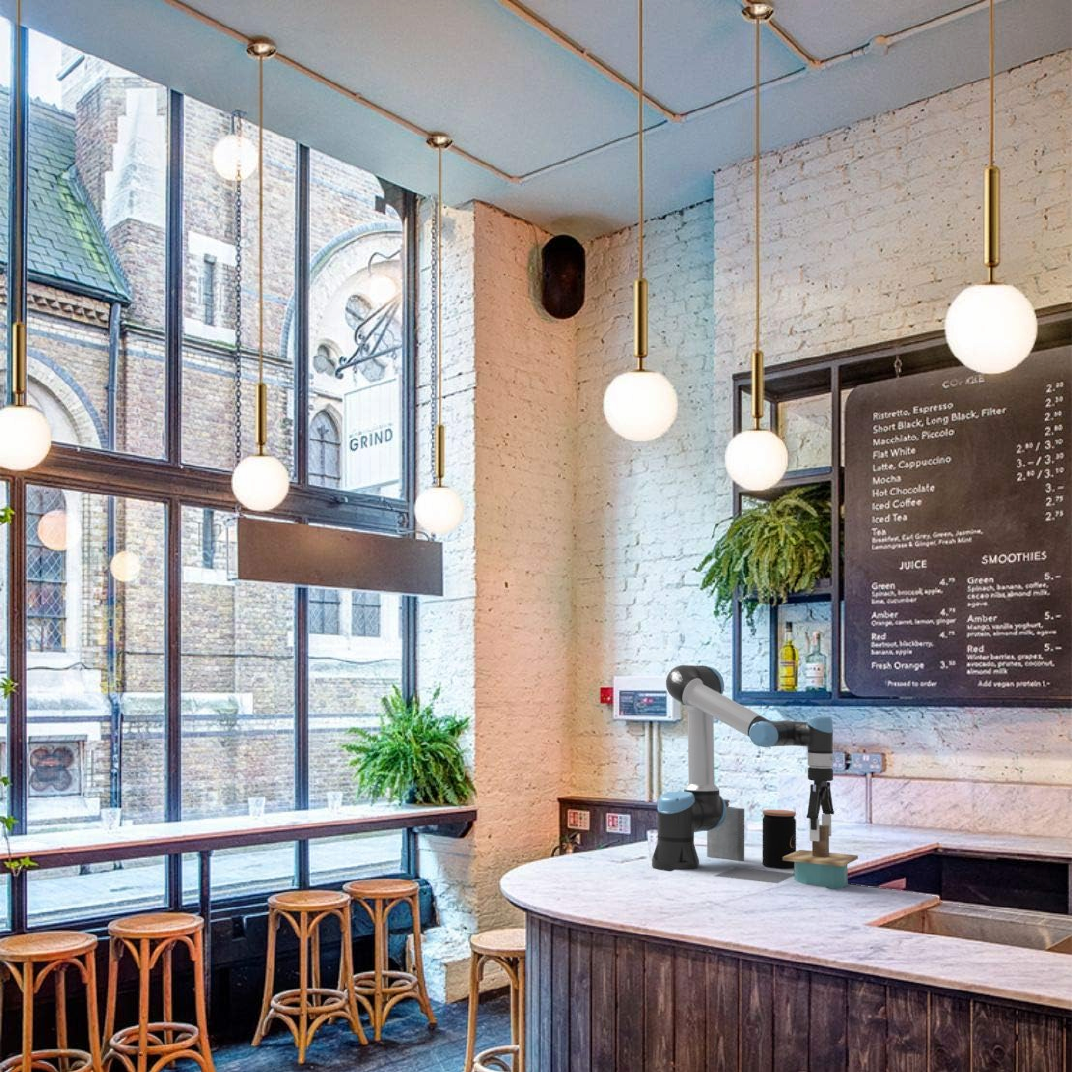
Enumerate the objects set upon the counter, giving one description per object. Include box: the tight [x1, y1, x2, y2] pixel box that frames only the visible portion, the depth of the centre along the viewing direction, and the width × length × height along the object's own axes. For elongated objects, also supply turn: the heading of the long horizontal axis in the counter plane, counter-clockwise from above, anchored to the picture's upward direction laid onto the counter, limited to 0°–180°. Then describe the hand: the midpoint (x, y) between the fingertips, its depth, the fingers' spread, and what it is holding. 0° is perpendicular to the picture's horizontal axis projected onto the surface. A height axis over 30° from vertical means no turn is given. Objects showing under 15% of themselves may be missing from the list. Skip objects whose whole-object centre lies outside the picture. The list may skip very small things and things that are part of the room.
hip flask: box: [706, 798, 745, 862], centre depth 391 cm, size 16×4×20 cm, turn 37°
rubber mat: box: [714, 866, 795, 884], centre depth 357 cm, size 20×20×1 cm
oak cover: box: [783, 824, 859, 866], centre depth 349 cm, size 18×18×10 cm
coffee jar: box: [762, 809, 797, 870], centre depth 376 cm, size 11×11×18 cm
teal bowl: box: [793, 862, 849, 889], centre depth 348 cm, size 15×15×7 cm
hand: (820, 838), depth 350 cm, fingers open, 13 cm apart
